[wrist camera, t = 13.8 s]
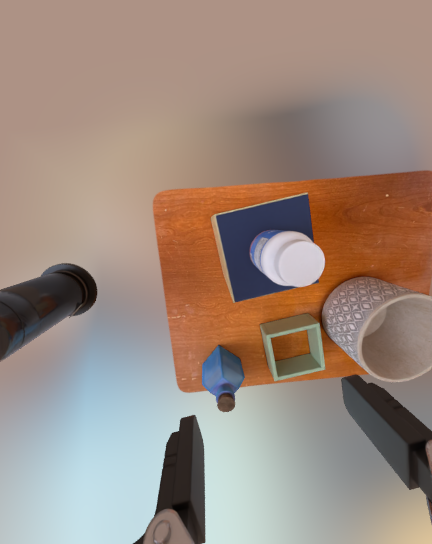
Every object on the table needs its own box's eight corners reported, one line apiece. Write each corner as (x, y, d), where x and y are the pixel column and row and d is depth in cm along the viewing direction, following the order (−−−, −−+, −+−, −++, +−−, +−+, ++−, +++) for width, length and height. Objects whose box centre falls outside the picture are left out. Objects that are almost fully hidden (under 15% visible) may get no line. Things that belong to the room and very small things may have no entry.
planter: (368, 259, 46) (428, 273, 33) (401, 314, 49) (468, 345, 37) (304, 305, 47) (340, 335, 35) (341, 355, 51) (386, 398, 38)
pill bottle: (296, 235, 27) (345, 242, 18) (282, 275, 28) (321, 302, 19) (255, 224, 26) (283, 224, 17) (243, 265, 28) (263, 287, 18)
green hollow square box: (268, 366, 50) (274, 381, 45) (259, 324, 48) (266, 335, 43) (313, 355, 50) (325, 369, 45) (308, 312, 48) (319, 322, 43)
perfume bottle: (239, 358, 49) (250, 400, 38) (223, 377, 50) (229, 424, 39) (218, 344, 48) (223, 383, 37) (202, 364, 49) (201, 408, 38)
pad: (234, 301, 29) (235, 302, 29) (215, 215, 26) (215, 215, 26) (317, 281, 29) (318, 282, 29) (306, 194, 26) (308, 193, 26)
